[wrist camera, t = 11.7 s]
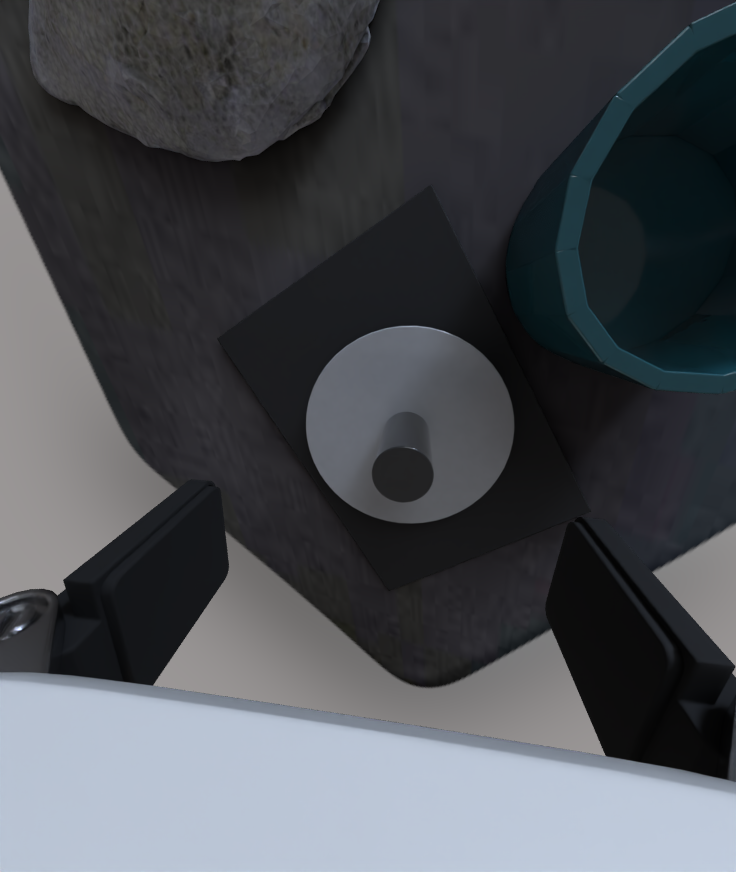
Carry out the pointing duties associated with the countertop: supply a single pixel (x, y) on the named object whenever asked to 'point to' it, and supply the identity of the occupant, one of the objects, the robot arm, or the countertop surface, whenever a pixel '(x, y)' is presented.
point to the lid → (410, 424)
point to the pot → (642, 226)
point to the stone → (199, 66)
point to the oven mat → (404, 306)
